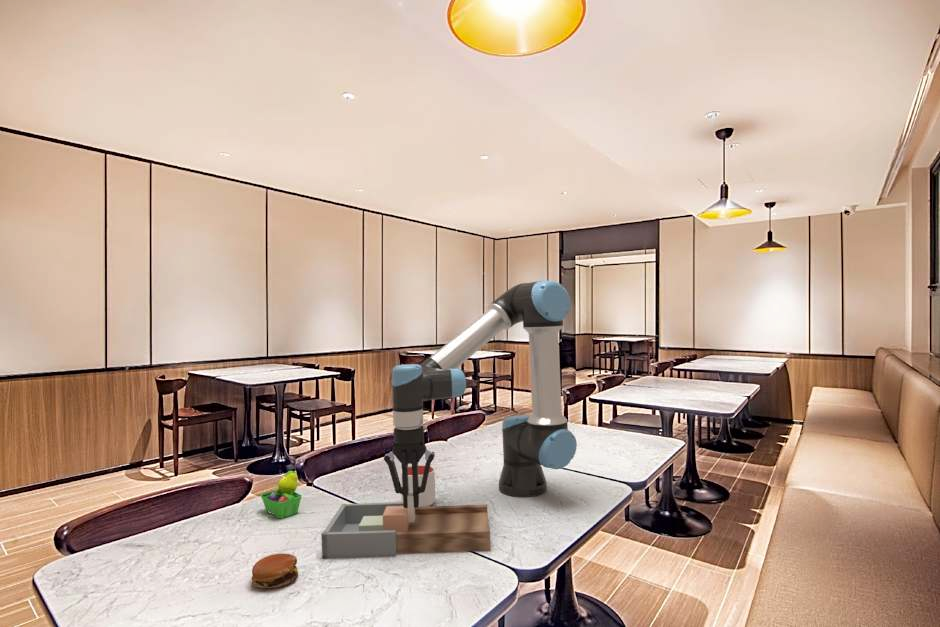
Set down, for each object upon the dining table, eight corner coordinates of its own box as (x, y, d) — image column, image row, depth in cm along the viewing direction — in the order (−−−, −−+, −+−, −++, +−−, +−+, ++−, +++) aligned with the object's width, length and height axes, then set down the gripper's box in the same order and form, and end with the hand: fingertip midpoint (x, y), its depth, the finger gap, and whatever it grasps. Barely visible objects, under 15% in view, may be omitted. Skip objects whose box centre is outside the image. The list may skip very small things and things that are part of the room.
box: (406, 522, 138) (405, 502, 138) (396, 555, 118) (395, 532, 118) (342, 524, 138) (342, 504, 138) (322, 558, 118) (321, 534, 118)
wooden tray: (487, 521, 136) (487, 504, 136) (490, 550, 119) (489, 531, 120) (405, 524, 136) (405, 507, 136) (396, 553, 119) (396, 534, 119)
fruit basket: (259, 512, 149) (258, 473, 149) (288, 503, 155) (287, 466, 155) (278, 522, 141) (277, 481, 141) (307, 512, 147) (306, 473, 147)
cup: (430, 511, 145) (429, 476, 145) (396, 509, 147) (395, 475, 147) (439, 498, 155) (438, 465, 155) (407, 497, 157) (406, 464, 157)
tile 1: (387, 530, 131) (386, 515, 131) (383, 541, 125) (383, 525, 125) (364, 531, 131) (363, 516, 131) (359, 542, 125) (358, 525, 125)
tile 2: (410, 521, 131) (409, 505, 131) (407, 530, 125) (407, 514, 125) (387, 522, 131) (386, 506, 131) (383, 531, 125) (382, 515, 125)
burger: (247, 578, 111) (246, 556, 111) (291, 565, 116) (290, 544, 116) (257, 598, 102) (256, 575, 103) (303, 583, 108) (303, 561, 108)
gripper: (435, 422, 132) (438, 513, 132) (385, 424, 132) (388, 515, 132) (433, 428, 124) (436, 525, 124) (380, 430, 124) (383, 527, 124)
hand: (411, 520), depth 128 cm, fingers closed
